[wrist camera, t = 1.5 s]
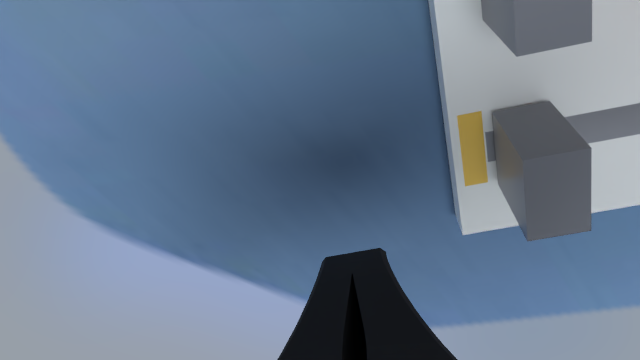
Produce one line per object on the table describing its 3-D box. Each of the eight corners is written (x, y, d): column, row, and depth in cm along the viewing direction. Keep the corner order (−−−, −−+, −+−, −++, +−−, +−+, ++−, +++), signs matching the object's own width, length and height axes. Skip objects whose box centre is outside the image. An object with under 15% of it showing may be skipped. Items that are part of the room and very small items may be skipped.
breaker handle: (549, 100, 17) (591, 147, 14) (551, 173, 18) (591, 230, 15) (491, 111, 17) (522, 160, 14) (498, 183, 18) (527, 241, 15)
